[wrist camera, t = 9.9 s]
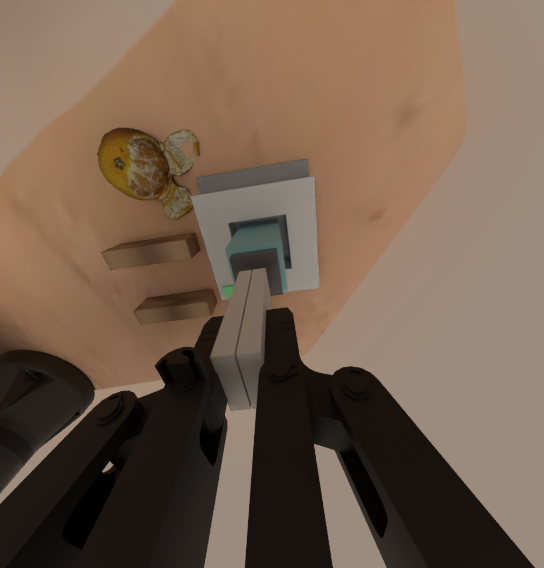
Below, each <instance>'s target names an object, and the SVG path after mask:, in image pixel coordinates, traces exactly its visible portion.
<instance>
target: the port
mask: <svg viewBox="0 0 544 568" xmlns="http://www.w3.org/2000/svg"><path fill="white" fill-rule="evenodd" d="M196 179H197V183H198V186H199V190H200V194H199V195H195V196H190V197H191V200H192V203H193V207H194V210H195V213H196V217H197V220H198V223H199V226H200V230H201V233H202V236H203V240H204V243H205V246H206V250H207V253H208V256H209V260H210V263H211V266H212V270H213V273H214V276H215V279H216V283H217V286H218V289H219V293H220V296H221V299H222V301H223V300H230V297H231V294H232V291H233V288H234V283H233V279H232V275H231V271H230V267H229V264H228V260H227V256H226V252H225V248H226V247H227V245H228V244H229V242H230V241H231V239H232V237H233V236H234V234H235V233H236V231H237V230H238V228H239V227H240V225H241V224H243V223H250V222H257V221H263V220H270V219H277V218H278V222H279V228H280V234H281V240H282V247H283V255H284V263H285V271H286V279H287V287H288V292H293V291H300V290H308V289H316V288H319V268H318V247H317V225H316V203H315V181H314V176H310V177H309V175H308V159H305V160H299V161H293V162H287V163H281V164H275V165H269V166H263V167H257V168H251V169H245V170H239V171H233V172H227V173H221V174H215V175H209V176H203V177H197V178H196ZM283 293H285V292H283Z"/></svg>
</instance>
